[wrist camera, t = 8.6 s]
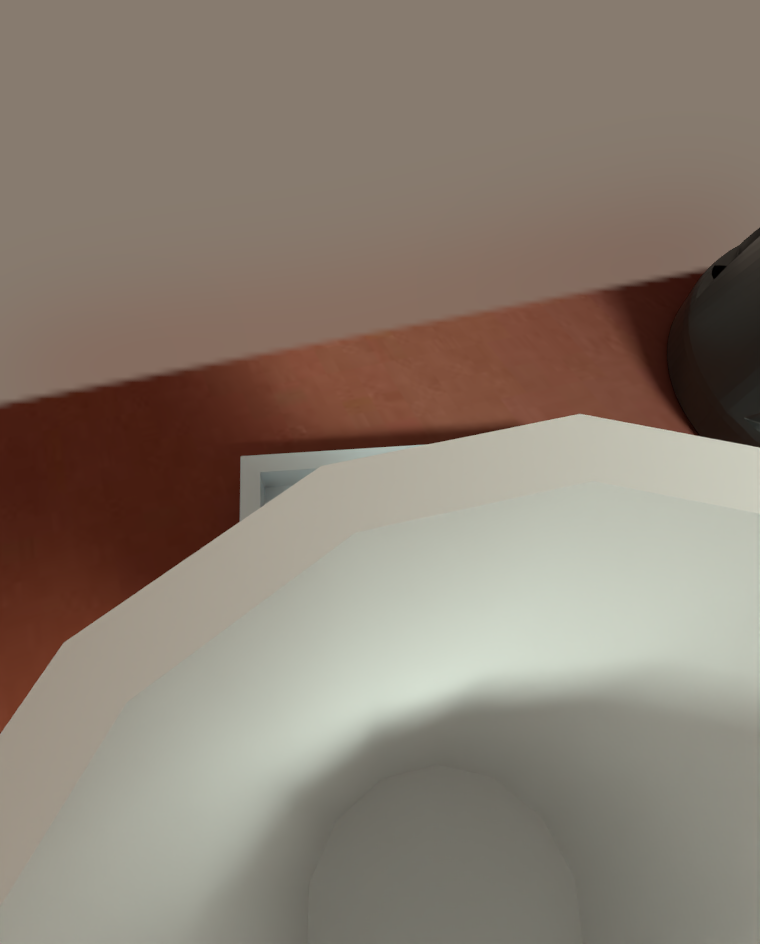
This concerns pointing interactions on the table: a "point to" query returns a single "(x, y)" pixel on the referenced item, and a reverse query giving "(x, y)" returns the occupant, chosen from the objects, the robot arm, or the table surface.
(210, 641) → the foam cup
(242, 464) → the dish
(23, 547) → the table surface
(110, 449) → the table surface
